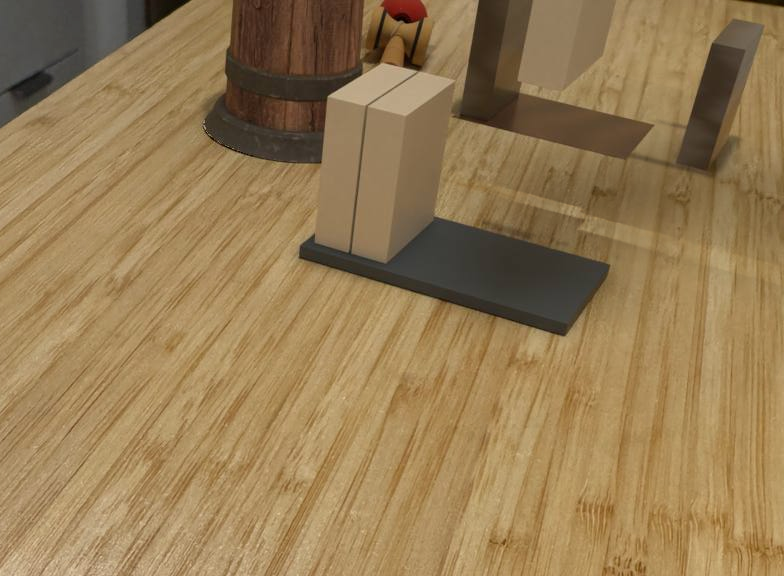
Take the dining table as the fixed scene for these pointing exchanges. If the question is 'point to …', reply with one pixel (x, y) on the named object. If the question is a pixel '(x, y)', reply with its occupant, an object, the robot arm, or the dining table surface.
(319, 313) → the dining table surface
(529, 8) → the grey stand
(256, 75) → the tankard
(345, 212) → the dark base with blocks
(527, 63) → the beige rectangular block
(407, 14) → the kendama
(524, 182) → the dining table surface
